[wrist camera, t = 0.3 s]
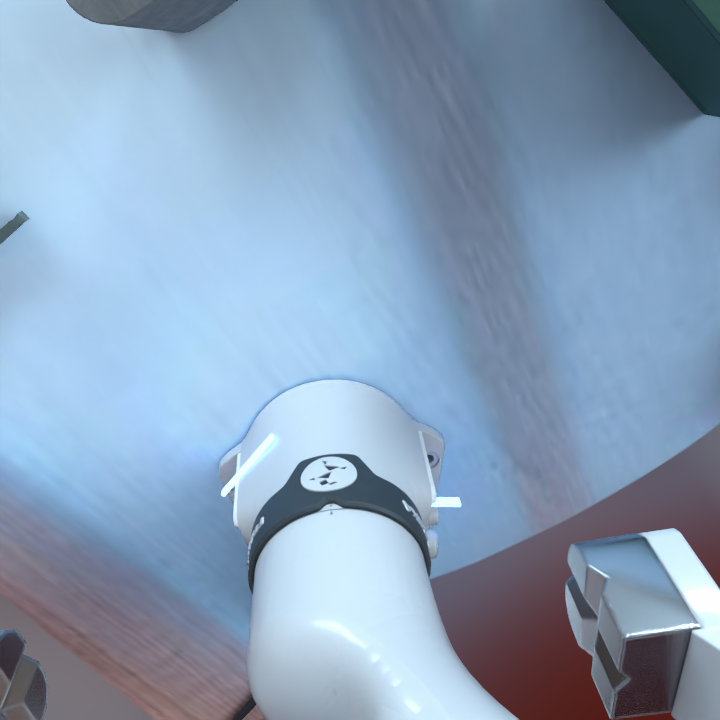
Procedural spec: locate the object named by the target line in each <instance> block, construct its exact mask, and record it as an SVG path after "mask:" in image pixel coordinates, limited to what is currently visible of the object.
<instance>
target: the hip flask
mask: <svg viewBox="0 0 720 720" xmlns="http://www.w3.org/2000/svg"><path fill="white" fill-rule="evenodd" d="M66 1H67V3H68V4H69V5H70V6H71V7H72V8H73V9H74V10H75V11H76V12H77V13H78V14H80V15H81V16H82V17H84V18H86V19H88V20H90V21H92V22H96V23H100V24H107V25H117V26H126V27H135V28H144V29H153V30H163V31H172V32H189V31H192V30H194V29H196V28H197V27H199V26H201V25H202V24H204V23H205V22H207V21H209V20H210V19H212V18H213V17H215V16H216V15H218V14H219V13H221V12H222V11H224V10H225V9H227V8H228V7H229V6H231V5H232V4H233V3H235V2H236V1H237V0H66Z"/></svg>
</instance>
